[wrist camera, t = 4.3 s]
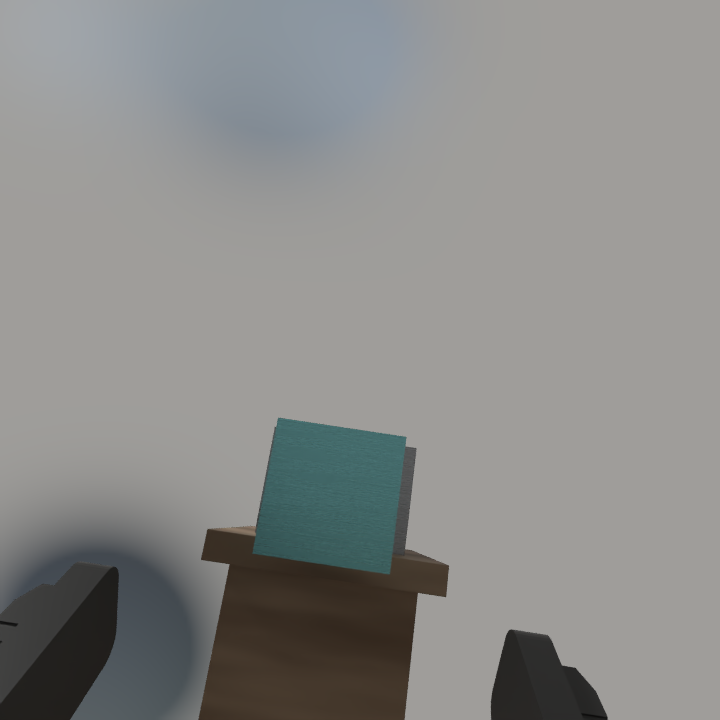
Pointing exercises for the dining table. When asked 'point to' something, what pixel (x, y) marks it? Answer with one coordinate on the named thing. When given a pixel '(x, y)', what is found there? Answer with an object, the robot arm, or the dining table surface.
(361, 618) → the tall walnut stand
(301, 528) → the bar
